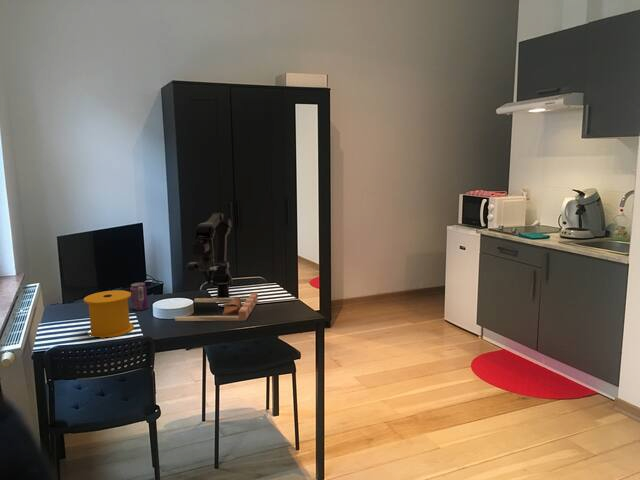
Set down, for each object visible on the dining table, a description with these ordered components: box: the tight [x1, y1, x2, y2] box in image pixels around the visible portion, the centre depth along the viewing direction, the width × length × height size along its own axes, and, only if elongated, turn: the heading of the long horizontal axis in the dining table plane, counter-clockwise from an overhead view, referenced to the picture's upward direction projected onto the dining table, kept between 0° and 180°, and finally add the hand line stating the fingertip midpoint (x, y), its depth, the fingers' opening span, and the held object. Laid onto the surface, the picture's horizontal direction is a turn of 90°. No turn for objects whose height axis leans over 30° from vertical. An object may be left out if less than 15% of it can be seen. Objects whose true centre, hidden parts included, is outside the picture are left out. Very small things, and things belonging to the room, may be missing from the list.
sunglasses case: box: [222, 296, 242, 316], centre depth 241 cm, size 18×7×7 cm, turn 9°
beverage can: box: [129, 282, 149, 311], centre depth 244 cm, size 7×7×12 cm
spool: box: [83, 289, 135, 339], centre depth 214 cm, size 18×18×15 cm
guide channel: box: [174, 292, 259, 322], centre depth 240 cm, size 30×31×4 cm
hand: (209, 283), depth 242 cm, fingers closed
